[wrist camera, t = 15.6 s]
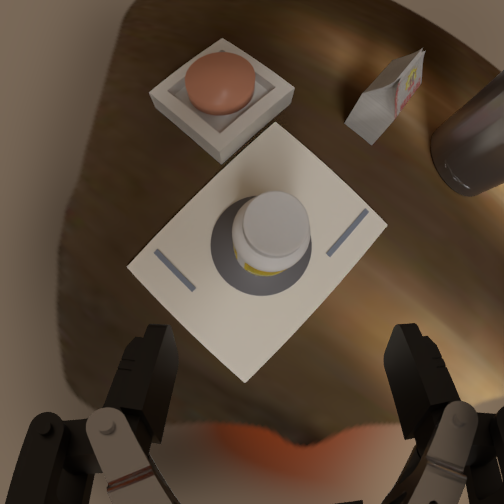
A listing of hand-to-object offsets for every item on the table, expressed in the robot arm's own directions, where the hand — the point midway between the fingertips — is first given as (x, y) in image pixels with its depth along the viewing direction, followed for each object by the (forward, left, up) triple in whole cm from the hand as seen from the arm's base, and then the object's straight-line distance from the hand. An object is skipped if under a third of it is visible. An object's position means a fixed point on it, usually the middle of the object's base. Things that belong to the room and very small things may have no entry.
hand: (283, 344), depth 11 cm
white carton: (-23, -5, -18) cm, 30 cm away
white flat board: (-5, -4, -18) cm, 19 cm away
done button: (-13, -17, -15) cm, 26 cm away
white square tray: (-13, -17, -18) cm, 27 cm away
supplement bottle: (-5, -4, -17) cm, 18 cm away
